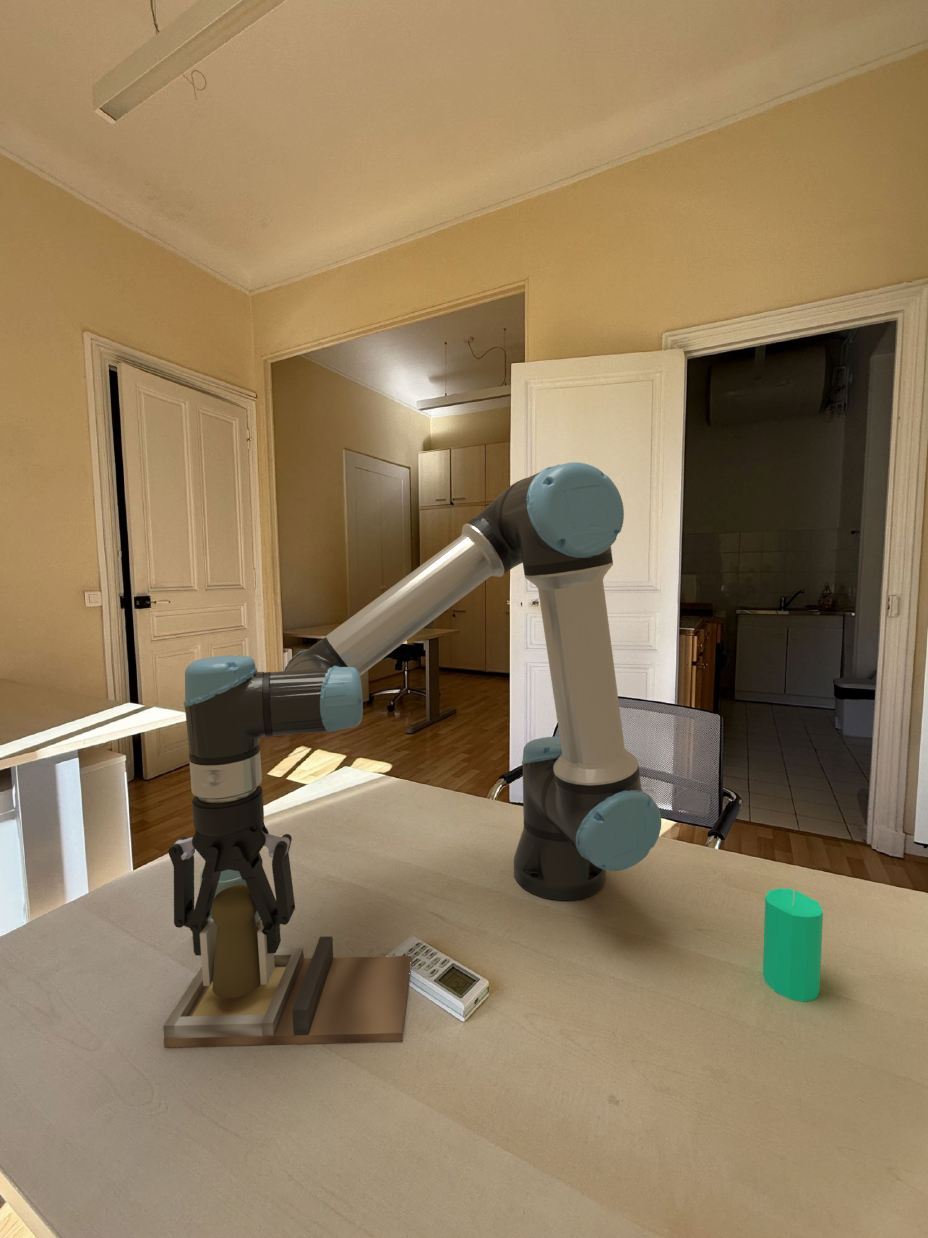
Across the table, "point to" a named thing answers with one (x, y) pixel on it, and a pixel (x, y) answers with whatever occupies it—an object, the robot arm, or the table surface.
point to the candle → (792, 944)
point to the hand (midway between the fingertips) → (239, 976)
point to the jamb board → (343, 1006)
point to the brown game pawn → (235, 943)
